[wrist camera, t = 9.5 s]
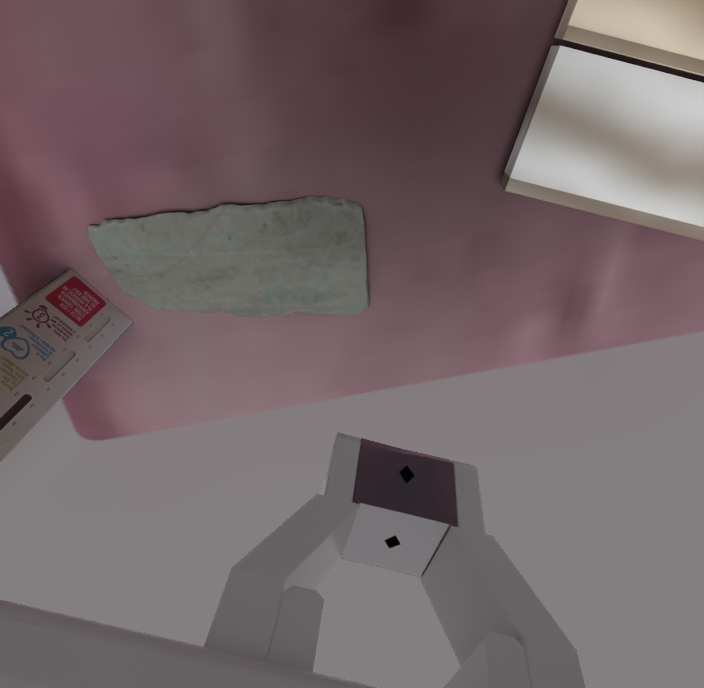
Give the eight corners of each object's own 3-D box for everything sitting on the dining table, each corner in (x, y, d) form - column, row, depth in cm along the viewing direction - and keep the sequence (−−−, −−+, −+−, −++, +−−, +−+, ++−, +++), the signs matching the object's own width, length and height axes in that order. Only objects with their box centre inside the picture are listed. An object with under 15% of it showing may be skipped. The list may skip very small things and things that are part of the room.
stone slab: (376, 301, 41) (363, 188, 34) (373, 321, 39) (359, 206, 32) (137, 308, 45) (84, 208, 38) (123, 327, 43) (65, 225, 36)
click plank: (551, 45, 28) (560, 45, 26) (909, 138, 29) (941, 144, 27) (499, 183, 32) (504, 190, 31) (812, 262, 33) (835, 274, 31)
